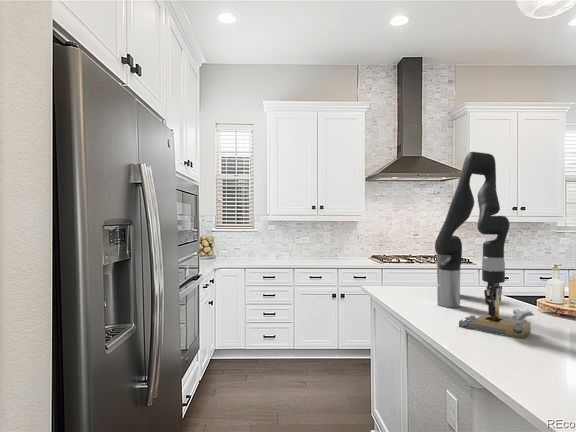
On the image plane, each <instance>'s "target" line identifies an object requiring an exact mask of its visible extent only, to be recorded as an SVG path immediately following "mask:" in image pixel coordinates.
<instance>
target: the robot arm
mask: <svg viewBox="0 0 576 432" xmlns="http://www.w3.org/2000/svg"><path fill="white" fill-rule="evenodd" d="M496 165H497V164H496V158H495V157H494V155H493V154H491V153H488V152H487V153H486V152H481V151H479V152H477V151H469V152H468V153H467V154H466V156H465V158H464V161H463V165H462V167H461V172H460V176H459V180H458V184H457V186H456V189H455V192H454V194H453V198H452V199H451V203H450V205H449V208H448V211H447V214H446V216H445V220H444V222H443V225H442V227H441V229H440V231H439V233H438V235H437V237H436V239H435V242H434V250H435V253H436V255H437V254H439V255H448V258H447V259H446V260H445V261H443V262H441V263H440V264H439V285H438V284H437V287H436V288H437V290H436V291H437V301H436V302H437V303H436V304H437V305H438V306H441V307H444V308H459V307H461V264H462V259H463V258H462V255H463V244H462V243H463V242H462V241H461V240H462V239H461V238H460V237H459V236H457V235H454V233H455V232H456V231H457V230H458V229H459V228H460V227H461V226H462V225H463V224H465V222H466V221H467V220H468V219H469V218H470V216H471V213H472V211H473V209H474V207H475V198H474V195H473V192H472V189H471V178H472V175H479V176H484V182H483V184H482V185H481V187H480V188H479V190H478V193H477V203H478V208H479V209H478V210H479V215H478V221H477V230H478V232H480V234H482V235H488V236H489V235H491V236H492V235H494V236H495V235H497V236H496V237H495V238H494V239H491V240H487V241H484V242H483V244H482V261H481V269H482V270H481V275H482V276H481V277H482V278H481V279H482V281H483V282H486V283H487V286H486V287H485V289H484V292H483V293H484V300H485V305H487V306H488V309H487V310H488V311H487V313H488V314H487V315H489V316H495V305H496V300H497V296H498V294H499V304H501V301H502V295H503V294H502V290H503V286H502V285H500V284H504V283H505V281H506V263H505V244H506V239H507V236H508V232H509V230H510V224H511V223H510V220H509V218H508V217H506V216H504V215H496V214H498V213H499V212H500V209H501V207H500V202H499V201H500V200H499V197H498V194H497V172H496V171H497V168H496ZM452 235H453V236H452ZM493 297H494V298H493ZM490 300H491V302H490Z"/></svg>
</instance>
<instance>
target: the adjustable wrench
mask: <svg viewBox="0 0 576 432" xmlns="http://www.w3.org/2000/svg"><path fill="white" fill-rule="evenodd" d="M512 313H513V314H514V315H513V316H512V317H511V318H510V319H514V320H520V321H521V319H522V318H523V317H525V315H526V316H531V315H532V313H533V312H532V310H530V309H525V310H521V309H519V308H516V309H513V310H512Z"/></svg>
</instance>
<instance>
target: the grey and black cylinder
mask: <svg viewBox="0 0 576 432" xmlns="http://www.w3.org/2000/svg"><path fill="white" fill-rule="evenodd" d="M452 236H454V234H453V235H452ZM447 258H448V255H439V254H437V253H436V275H437V276H436V277H437V279H436V280H437V285H439V264H440V263H441V262H443V261H445V260H446V259H447Z"/></svg>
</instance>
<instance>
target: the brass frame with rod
mask: <svg viewBox="0 0 576 432" xmlns="http://www.w3.org/2000/svg"><path fill="white" fill-rule="evenodd" d="M458 327H459V328H460V327H461V328H464V329H465V328H466V329H471V330H475V329H476V330H477V331H480V330H482V331H481V332H485V331H487V332H486V333H491V332H492V333H491V334H496V333H497V335H501V334H503V335H502V336H506V335H507V336H508V337H511V336H512V337H513V338H518V339H524V340H525V339H526V338H527V337H528V336H529V335H531V332H532V331H531V328H532V327H531V322H530V321H528V320H527V319H522V320H521V319H520V320H514V319H511V318H507V317H501V316H499V322H498V321H492V320H489V315H488V314H481V315H480V316H478V317H476V316H475V315H470V316H466V317H465V318H464V317H463V319H460V320H459V321H458ZM507 336H506V337H507Z"/></svg>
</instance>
